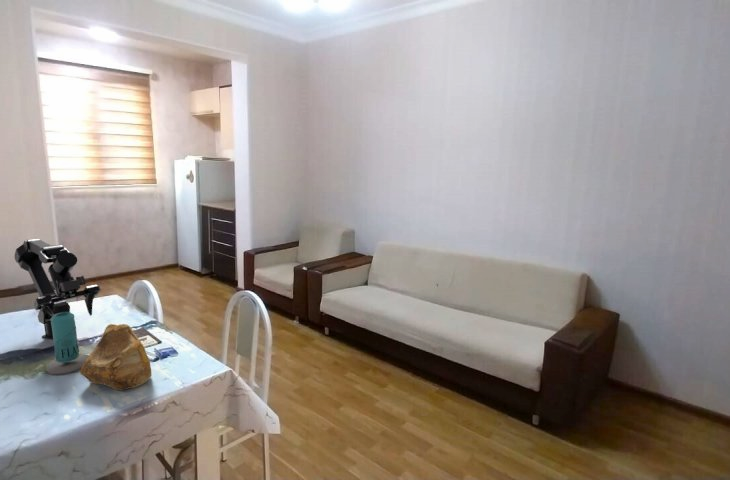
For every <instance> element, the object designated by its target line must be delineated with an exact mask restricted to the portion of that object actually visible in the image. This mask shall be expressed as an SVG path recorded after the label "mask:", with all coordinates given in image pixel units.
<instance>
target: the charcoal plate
mask: <svg viewBox="0 0 730 480" xmlns="http://www.w3.org/2000/svg"><path fill="white" fill-rule="evenodd" d="M89 355H90V354H85V353H79V357H78V358H77V359H75V360H72V361H69V362H63V363H60V362H57V361H56V359H54V360H52V361H51V362H49V363H48V364H47V365H46V366H45V369H46V374H48V375H51V376H64V375H70V374H74V373H77V372H80V370H81V368H82V365H83V363H84V362H85V360H86V358H87V357H88V356H89Z"/></svg>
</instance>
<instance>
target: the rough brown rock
mask: <svg viewBox="0 0 730 480" xmlns="http://www.w3.org/2000/svg"><path fill="white" fill-rule="evenodd" d="M133 330H134V329H132V327H131V326H130V325H129V324H126V323H122V324H121V323H120V324H113V323H110V324H108V325H107V326H106V327H105V329H104V330H103V331H104V332H103V333H102V336H101V338H100V340H99V341H98V343H97V344H96V346H95V347H94V349H93V351H91V352H90V354H88V355H89V356H88V357H87V358H86V360H85V362H84V363H83V365H82V368H81V370H79V374H80V375H81V376H83V377H84V378H85V379H87V380H88V381H89V383H93V384H95V385H97V384H98V385H105V386H106V387H109V388H112V389H115V390H116V391H117V390H118V391H124V392H125V391H126V390H127V389H134V388H136V387H138V386H141V385H143V384H145V383H146V382H147V381H149V380H150V378H151V377H152V366H151V362H150V358H149V357H148V354H147V351H146V349H145V348H146V347H145V348H144V346H143V344H142V343H141V342H140V341H139V339H138V337H137V336H136V334H135V333H134V332H133Z"/></svg>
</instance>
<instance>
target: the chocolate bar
mask: <svg viewBox="0 0 730 480" xmlns="http://www.w3.org/2000/svg"><path fill="white" fill-rule="evenodd" d="M132 330H133V332H134V333H135V334H136V336H137V337H138V339H139V341H140V342H141V343H142V344H143V346H144V348H149V347H151V346H155V345H159V344H162V340H161V339H160V338H158V337H157V336H155V335H154V334H152V332H150V331H149V330H148V329H146V328H145V327H141V328H137V329H132Z"/></svg>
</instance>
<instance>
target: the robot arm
mask: <svg viewBox="0 0 730 480" xmlns="http://www.w3.org/2000/svg"><path fill="white" fill-rule="evenodd" d="M14 260H15V262H16V264H18V265H19V267H20V269H22V270H25V271H26V272H28V274H29V276H30V278H31V280H32V282H33V285H34V286H35V289H36V292H37V293H38V295H39V296H38V297H37V298H36V299H35V301H34V302H33V306H34V307H33V308H34V309H35V311H38V315H37V319H38V322H39V323H40V324H42V325H43V326H44V332H45V334H43V335H42V336H41V338H46V339H53V332H52V325H51V318H52V317H53V316H54V315H55V314H57V313H61V312H54V311H53V309H54V307H53V306H54V305H55V304H57V303H63V302H66V303H68V302H67V300H71V299H76V298H80V297H84V303H85V305H86V309H87V312H88V314H89V316H92V315H93V302H94V299H95V297H97V296H99V294H100V292H102V290H101V288H100V286H99V285H98V284H92V285H88V286H85V285H86V283H87V282H86V279H85V277H84V275H80V276H77V277H75V279H74V277H73V276H72V274H71V271H73V269H74V267H75V266H76V265H77V262H78V257H77V256H76V255H75V254H74V253H72V252H70V251H69V250H68V249H67V248H66V247H65V246H63V245H62V244H49V243H47V242H45V241H43V240H42V239H41V238H31V239H26V240H24V241H23V243H22V244H21V245H20V246H18V247H17V248H16V249H15V251H14ZM51 263H52V264H51ZM43 264H50V265H49V266H48V271H47V272H48V273H49V276H50V278H51V281H52V283H51V281H50V278H49V276H48V274H47V273H46V271H45V269H44V267H43ZM81 286H85V288H84V289H83V290H80V289H81ZM69 308H70V309H69V310H67V311H64V312H70V313H71V305H69Z"/></svg>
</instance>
